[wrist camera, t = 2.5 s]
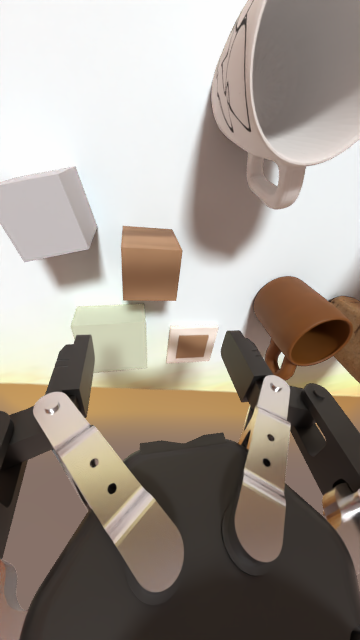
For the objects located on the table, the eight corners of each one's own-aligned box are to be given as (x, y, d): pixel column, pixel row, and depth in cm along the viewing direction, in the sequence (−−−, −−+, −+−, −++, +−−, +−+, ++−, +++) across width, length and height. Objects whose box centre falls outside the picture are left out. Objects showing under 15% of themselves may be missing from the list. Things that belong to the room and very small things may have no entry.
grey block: (15, 177, 19) (-22, 188, 14) (75, 166, 19) (58, 174, 14) (46, 236, 22) (24, 262, 17) (97, 226, 22) (88, 249, 18)
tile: (170, 325, 32) (171, 330, 31) (217, 325, 33) (219, 329, 32) (166, 360, 36) (166, 364, 35) (208, 358, 37) (209, 362, 36)
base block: (77, 305, 27) (70, 325, 24) (143, 302, 29) (145, 321, 26) (89, 351, 32) (84, 373, 29) (145, 347, 34) (147, 368, 31)
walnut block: (122, 225, 23) (121, 247, 18) (171, 229, 24) (182, 250, 19) (124, 271, 26) (123, 300, 21) (167, 273, 27) (176, 300, 22)
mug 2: (269, 343, 38) (302, 391, 30) (229, 338, 35) (255, 389, 28) (313, 279, 31) (370, 322, 24) (268, 268, 29) (316, 311, 21)
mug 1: (284, 185, 23) (364, 207, 15) (204, 202, 22) (243, 233, 15) (309, -4, 16) (485, -147, 8) (190, 17, 15) (253, -112, 8)
